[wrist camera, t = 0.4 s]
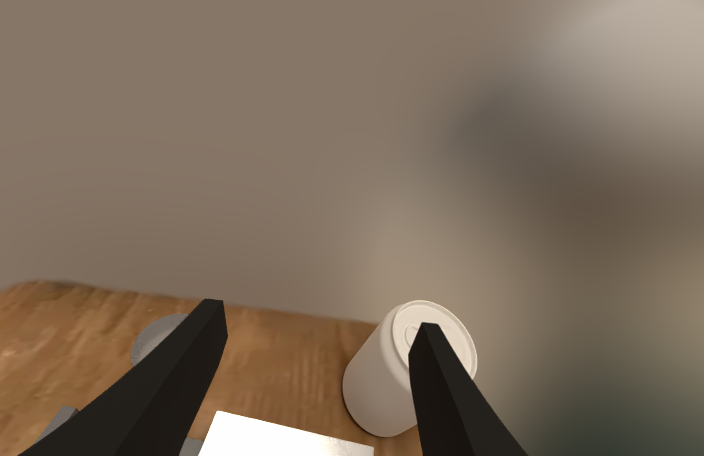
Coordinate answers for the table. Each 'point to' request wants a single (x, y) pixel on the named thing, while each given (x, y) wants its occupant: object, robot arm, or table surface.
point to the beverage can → (397, 367)
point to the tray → (189, 448)
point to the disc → (154, 336)
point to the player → (271, 440)
